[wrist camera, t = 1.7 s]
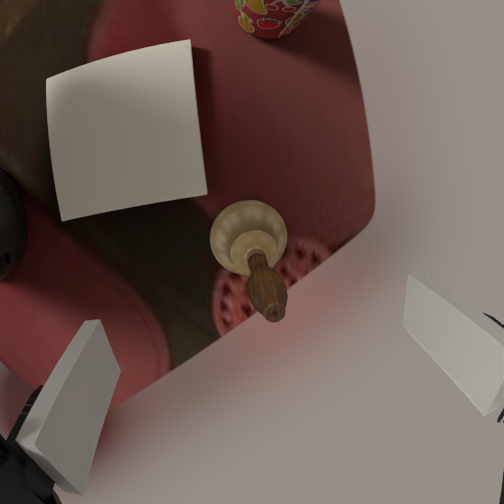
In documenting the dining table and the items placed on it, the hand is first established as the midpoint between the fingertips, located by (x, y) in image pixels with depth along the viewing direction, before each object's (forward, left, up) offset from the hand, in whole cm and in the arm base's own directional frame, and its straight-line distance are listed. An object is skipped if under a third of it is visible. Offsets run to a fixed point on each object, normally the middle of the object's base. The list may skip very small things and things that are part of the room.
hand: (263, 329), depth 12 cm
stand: (-10, +11, -21) cm, 26 cm away
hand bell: (+1, -2, -21) cm, 21 cm away
